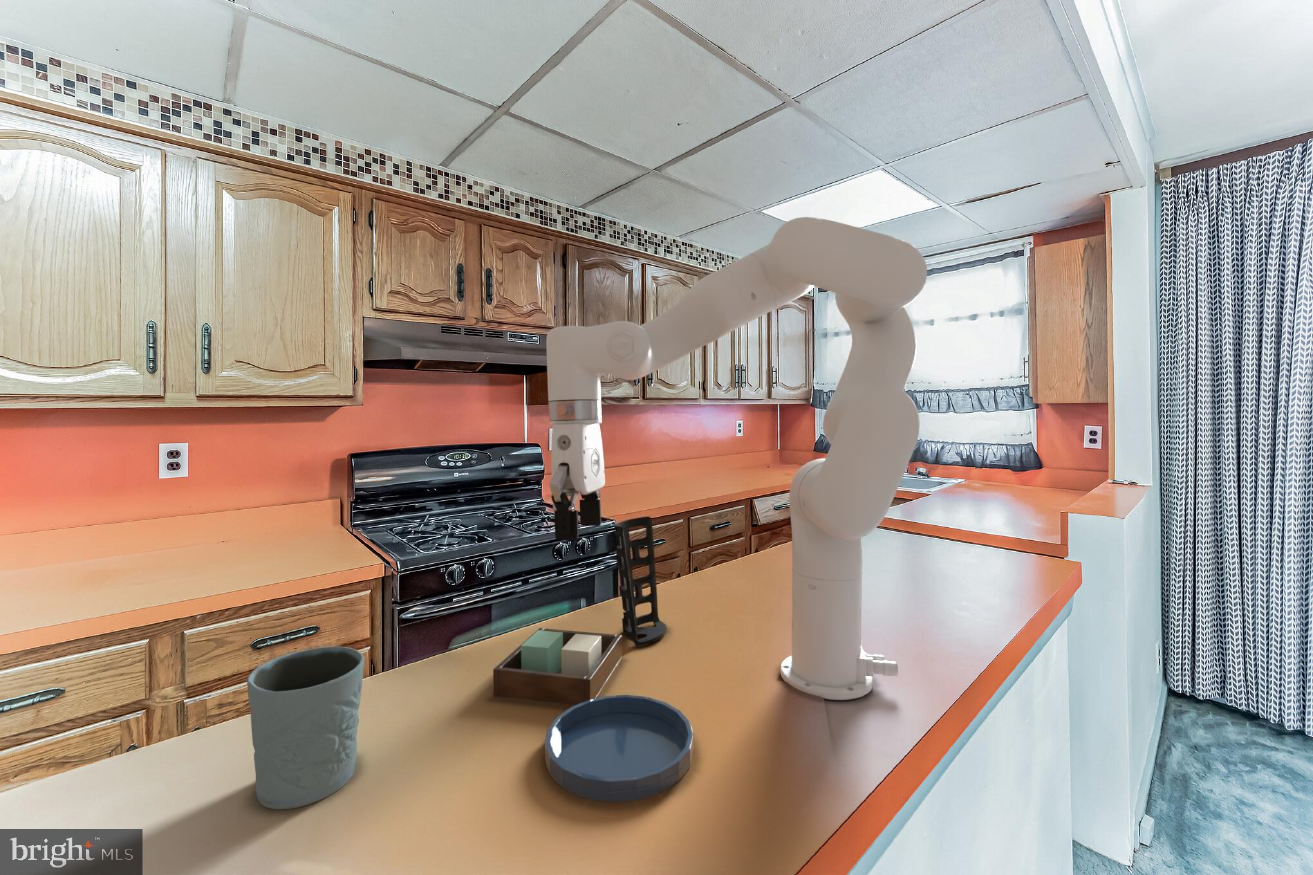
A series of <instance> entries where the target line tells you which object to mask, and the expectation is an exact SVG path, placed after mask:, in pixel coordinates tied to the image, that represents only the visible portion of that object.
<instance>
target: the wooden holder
mask: <svg viewBox="0 0 1313 875" xmlns="http://www.w3.org/2000/svg"><path fill="white" fill-rule="evenodd" d="M538 630H540V631H551V632H563V647H564V646H565V645H566V644H567V643H568V642H569V640H570V639H571V638H572V637H573V636H574V635H575V634H585V635H596V636H601V657H600V658H599V660H598V661H597V663H596V664H595V665H594V667H593V668H592V669H591V671H590V672H589V673H588V675H587V676H578V675H568V674H561V668H560V670H559V671H558V672H557V673H550V672H540V671H531V670H521V645H522V644H523V643H525V642H526V641H527V640H528V639H529V638H530V637H531V636H532V635H534V634H535V633H536V632H537V631H538ZM622 639H623V636H622V634H613V633H600V632H590V631H577V630H566V629H556V628H545V627H539V628H538V629H536V630H535V632H534V633H532V634H531V635H530V636H529V637H528V638H527V639H525V640H524V642H522V643H521V644H520V645H519V646H518V647H517V648H515V649H514V650H513V651H512V652H511V653H510V654H509V655H508V656H506V657H505V658H504V659H503V660H502V661H501V662H500V663H499V664H498V665H496V666H495V667H494V668H492V674H493V675H492V677H493V678H492V683H493V684H492V687H493V688H492V690H493V691H492V692H493V697H496V698H497V697H498V698H503V699H515V700H521V701H530V702H537V703H538V702H539V703H548V704H555V705H565V706H571V707H573V706H575V705H577V704H580V703H582V702H585V701H587V700H591V699H596V698H598V696H599V695H600V693H601V692H602V690H603V688H604V687H605V686H606V684H607V682H608V681H609V679H610V678H611V676H612V674H613V673H614V671H615V670H616V668H617V667H618V666H620V665H621V663H622V661H623V646H622V643H623V642H622Z"/></svg>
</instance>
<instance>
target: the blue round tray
mask: <svg viewBox="0 0 1313 875" xmlns="http://www.w3.org/2000/svg"><path fill="white" fill-rule="evenodd" d="M694 738H695V735H694V731H693V728H692V725H691V722H690V720H689V719H688V718H687V717H686V716H685V714H684V713H683V712H682V711H681V710H680V709H678V708H676V707H674V706H673V705H671V704H669V702H668V703H667V702H666V701H663V700H659V699H656V698H652V697H650V696H643V695H633V694H617V695H616V694H615V695H605V696H601V697H597V698H596V699H591V700H587V701H585V702H582V703H580V704H577V705H575V706H570V707H569V708H568V709H566V710H564V711H563V712H562V713H561V714H559V715H558V716H556V717H555V719H554V720H553V721H552V723H551V724H550V725H549V727H548V728H547V731H546V735H545V740H544V762H545V764H546V769H547V771H548V773H549V776H550V777H551V778H552V780H553V781H554V782H555V783H556V784H558V786H560V788H562V789H564V790H566V791H567V792H568V793H571V794H573V795H575V796H578V797H581V798H584V799H587V800H591V801H598V802H606V803H607V802H608V803H611V802H612V803H620V802H631V801H636V800H637V801H638V800H642V799H645V798H649V797H652V796H655V795H657V794H660V793H662V792H665V791H666V790H668V789H670V788H671V787H672V786H674V785H675V784H676V783H677V782H679V781H680V780H681V779H682V778H683V777H684V776H685V774H686V773H687V772H688V770H689V769H690V768H691V764H692V761H693V756H694V753H695V752H694V751H695V746H694V744H695V743H694Z"/></svg>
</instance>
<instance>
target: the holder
mask: <svg viewBox="0 0 1313 875" xmlns="http://www.w3.org/2000/svg"><path fill="white" fill-rule="evenodd" d="M613 526H614V530H615V531H614V535H615V541H616V548H615V556H616V566H617V567H616V568H617V570H618V574H619V582H620V585H619V586H618V589H619V596H620V597H621V603H622V610H623V612H622V615H623V617H622V618H621V624H622V633H623V634H624V635H625V637H626V639H628V640H629V641H631V642H633V644H634V645H635V647H637V648H642V647H645V646H648V645H649V644H651V643H654V642H656V641H658V640H659V639H661V638H662V637H664V636H665V635H666V634H667V631H668V630H667V629H668V628H667V625H666V624H665V623H664V622H663V621H661V619H660V618H659V607H658V591H657V590H658V588H657V574H656V573H657V572H656V571H657V570H656V560H655V559H656V558H655V557H656V556H655V544H654V543H655V542H654V531H653V518H652V517H651V516H639V517H634V518H628V519H624V520H622V521H619V522H616V523H614V524H613ZM637 527H645V534H646V535H645V536H644V537H641V538H634V539H631V538H630V531H629V530H630V529H631V528H637ZM641 546H646V548H647V550H646V551H647V555H646V556H643V557H641V555H640V554H641V553H640V547H641ZM644 565H647V566H648V572H649V573H648V574H647V575H646V576H645V575H644V576H639V577H634V573H633V568H634V567H638V566H644ZM646 584H648V585H649V589H650V592H649V594H646V595H644V594H643V586H644V585H646ZM647 603H650V610H651V611H650V613H647V614H643V615H639V616H637V611H636V607H637V606H639V605H643V604H647ZM648 623H653V625H654V626H641V625H645V624H648ZM638 637H641V638H640V639H638Z"/></svg>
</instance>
